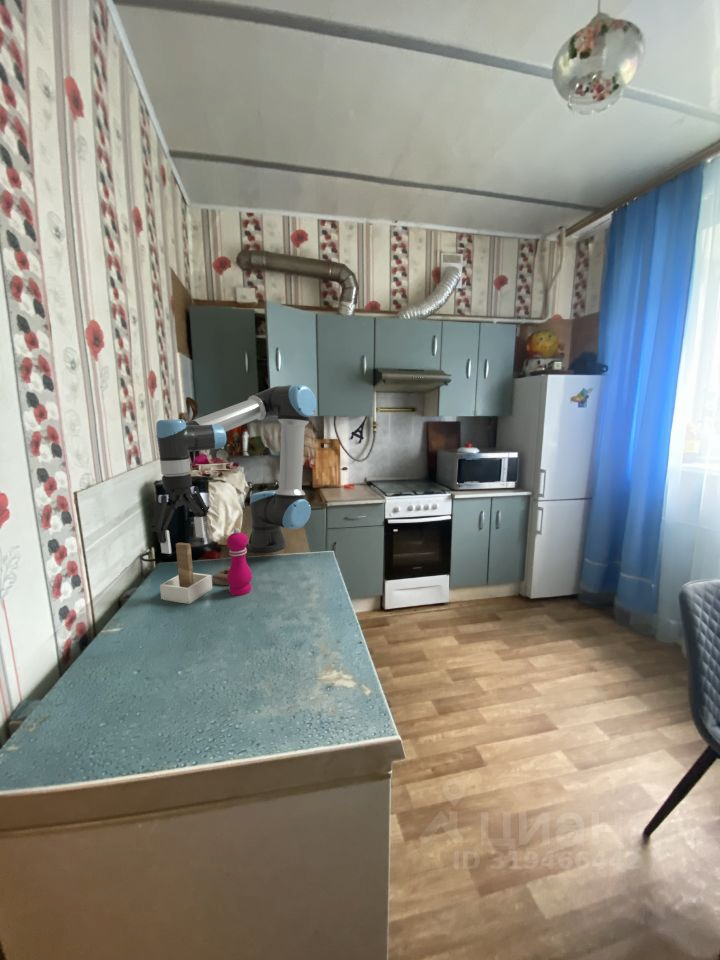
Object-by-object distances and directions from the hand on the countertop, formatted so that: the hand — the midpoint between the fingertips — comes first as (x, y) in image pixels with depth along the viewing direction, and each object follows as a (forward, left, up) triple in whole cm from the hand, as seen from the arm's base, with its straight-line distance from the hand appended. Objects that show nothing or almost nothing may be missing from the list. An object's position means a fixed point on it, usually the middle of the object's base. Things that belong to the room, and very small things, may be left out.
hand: (184, 544), depth 110 cm
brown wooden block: (0, 0, -15) cm, 15 cm away
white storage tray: (0, 0, -15) cm, 15 cm away
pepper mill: (-6, +14, -16) cm, 22 cm away
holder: (-12, +6, -15) cm, 20 cm away
